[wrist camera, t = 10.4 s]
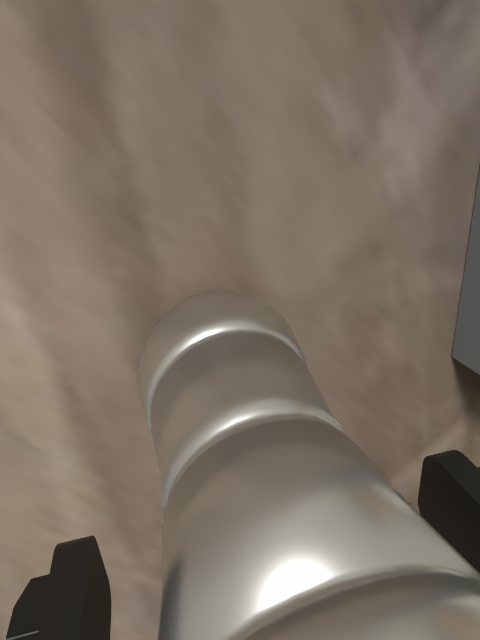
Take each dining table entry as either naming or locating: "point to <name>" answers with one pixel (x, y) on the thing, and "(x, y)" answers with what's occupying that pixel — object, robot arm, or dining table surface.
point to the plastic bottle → (280, 497)
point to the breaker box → (470, 299)
